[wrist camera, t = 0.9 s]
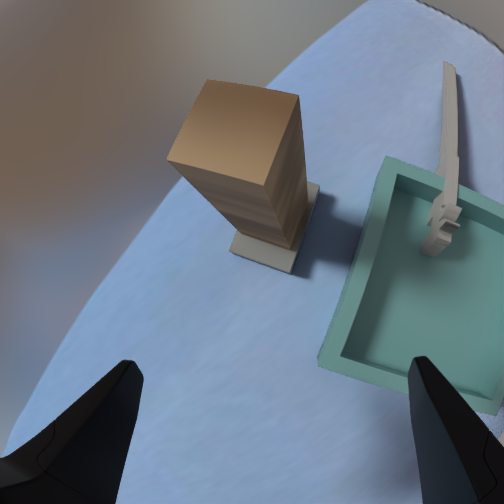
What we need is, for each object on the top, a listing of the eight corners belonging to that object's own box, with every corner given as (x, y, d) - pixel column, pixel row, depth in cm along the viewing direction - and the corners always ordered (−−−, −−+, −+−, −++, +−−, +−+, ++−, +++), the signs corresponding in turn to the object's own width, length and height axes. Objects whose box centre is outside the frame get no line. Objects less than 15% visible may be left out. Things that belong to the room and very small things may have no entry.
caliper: (423, 261, 22) (456, 249, 16) (410, 256, 22) (441, 243, 16) (451, 67, 23) (469, 27, 17) (441, 63, 23) (458, 22, 17)
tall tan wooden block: (290, 274, 23) (259, 232, 9) (234, 254, 24) (140, 193, 10) (319, 192, 23) (320, 70, 10) (264, 176, 24) (212, 53, 11)
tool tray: (475, 403, 18) (496, 415, 15) (317, 356, 21) (318, 366, 18) (520, 236, 19) (543, 227, 16) (377, 175, 22) (386, 155, 19)
